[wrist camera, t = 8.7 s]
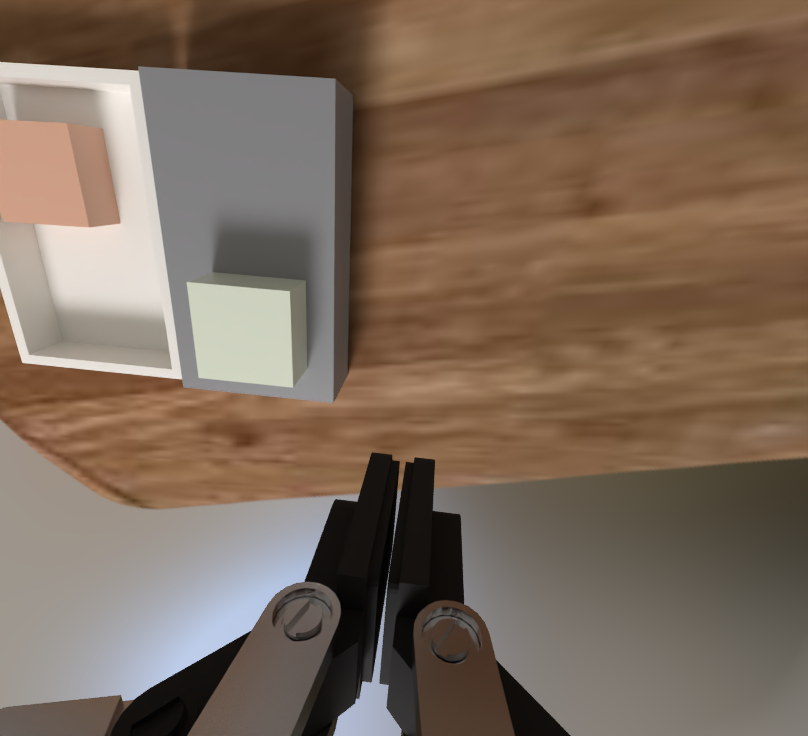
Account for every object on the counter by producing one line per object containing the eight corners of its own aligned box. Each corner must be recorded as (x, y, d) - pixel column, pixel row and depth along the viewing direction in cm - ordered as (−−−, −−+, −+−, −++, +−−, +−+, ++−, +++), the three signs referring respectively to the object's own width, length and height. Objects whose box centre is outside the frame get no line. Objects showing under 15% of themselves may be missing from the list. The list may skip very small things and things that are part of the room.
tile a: (66, 123, 22) (102, 128, 24) (-27, 118, 22) (17, 124, 25) (89, 227, 24) (120, 223, 26) (3, 221, 24) (41, 218, 27)
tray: (-9, 72, 24) (-67, 57, 21) (175, 83, 24) (139, 70, 21) (60, 346, 30) (22, 362, 28) (207, 361, 30) (182, 379, 27)
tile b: (212, 272, 23) (186, 282, 21) (305, 280, 23) (289, 291, 21) (221, 360, 25) (198, 377, 23) (307, 368, 25) (293, 387, 23)
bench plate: (186, 84, 24) (138, 66, 20) (353, 95, 23) (335, 78, 19) (216, 362, 30) (183, 387, 26) (347, 375, 29) (333, 402, 26)
